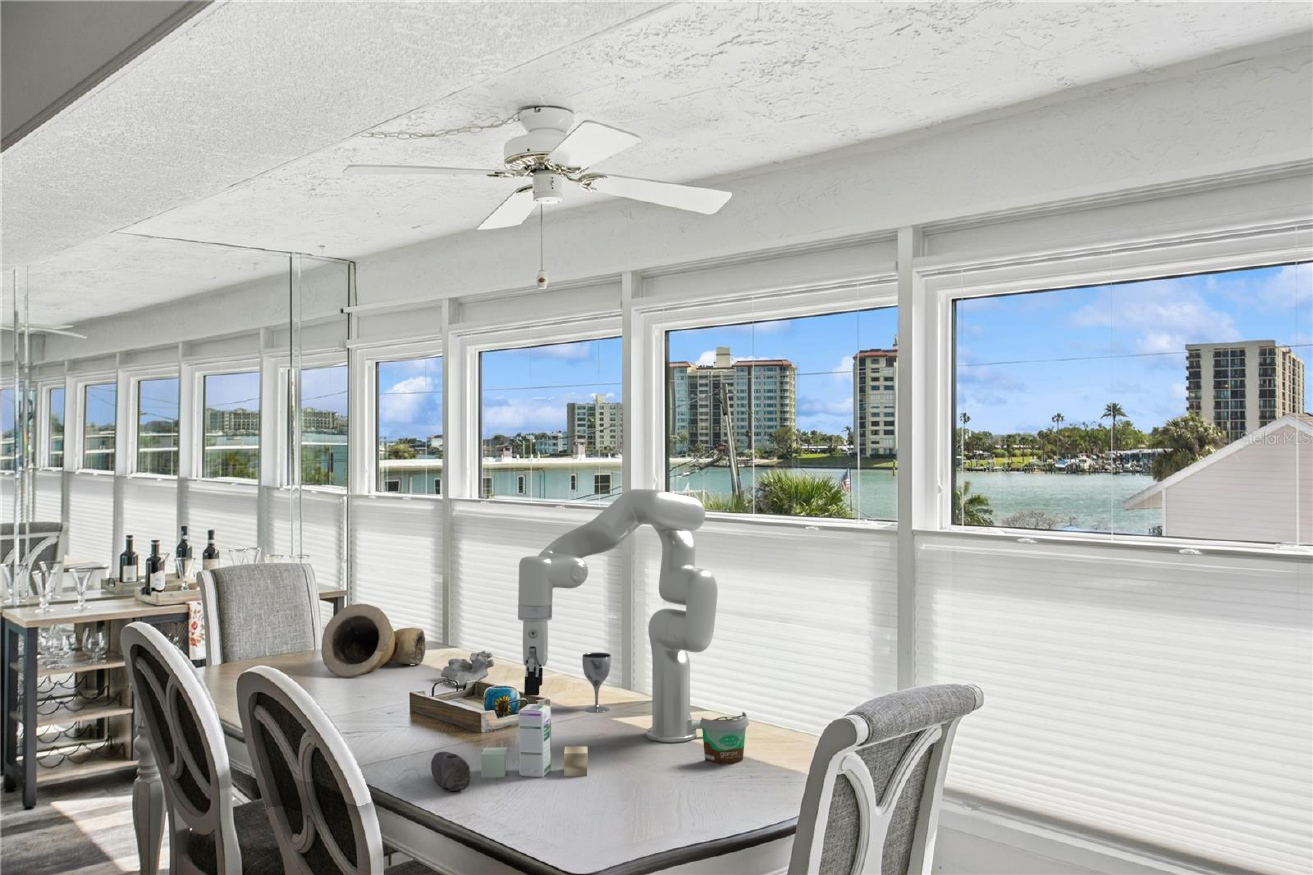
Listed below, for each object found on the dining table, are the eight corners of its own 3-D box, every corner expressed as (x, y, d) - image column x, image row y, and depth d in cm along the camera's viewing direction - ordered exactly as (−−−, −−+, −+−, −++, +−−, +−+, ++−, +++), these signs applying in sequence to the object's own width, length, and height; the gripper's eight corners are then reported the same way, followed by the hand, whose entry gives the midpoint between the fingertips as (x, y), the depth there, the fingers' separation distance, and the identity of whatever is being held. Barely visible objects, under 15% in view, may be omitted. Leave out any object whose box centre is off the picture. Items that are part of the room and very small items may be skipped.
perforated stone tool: (423, 777, 210) (423, 745, 210) (446, 773, 213) (446, 741, 213) (448, 797, 198) (449, 763, 198) (472, 793, 200) (473, 759, 201)
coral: (499, 683, 299) (499, 651, 299) (461, 690, 290) (461, 657, 290) (470, 674, 311) (470, 643, 312) (432, 681, 302) (433, 649, 303)
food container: (713, 769, 216) (713, 724, 216) (699, 761, 221) (699, 717, 222) (759, 761, 222) (759, 717, 222) (744, 754, 227) (744, 711, 227)
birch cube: (587, 768, 216) (587, 746, 216) (586, 776, 211) (587, 753, 211) (565, 769, 216) (565, 746, 216) (564, 776, 211) (564, 753, 211)
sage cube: (506, 770, 215) (506, 747, 215) (504, 777, 210) (504, 754, 210) (484, 770, 215) (484, 748, 215) (481, 778, 210) (481, 754, 210)
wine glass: (577, 711, 266) (577, 656, 266) (590, 704, 273) (590, 651, 273) (603, 714, 263) (603, 658, 263) (615, 707, 270) (615, 653, 270)
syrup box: (543, 777, 210) (544, 710, 210) (517, 776, 211) (518, 709, 211) (551, 769, 215) (552, 704, 216) (526, 768, 217) (526, 703, 217)
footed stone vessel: (425, 687, 332) (406, 675, 304) (340, 687, 331) (313, 675, 303) (431, 619, 340) (412, 602, 313) (348, 619, 340) (322, 602, 312)
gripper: (549, 618, 206) (548, 699, 205) (554, 607, 223) (552, 682, 222) (514, 618, 205) (512, 699, 204) (521, 607, 222) (520, 681, 222)
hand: (533, 690), depth 213 cm, fingers open, 9 cm apart
